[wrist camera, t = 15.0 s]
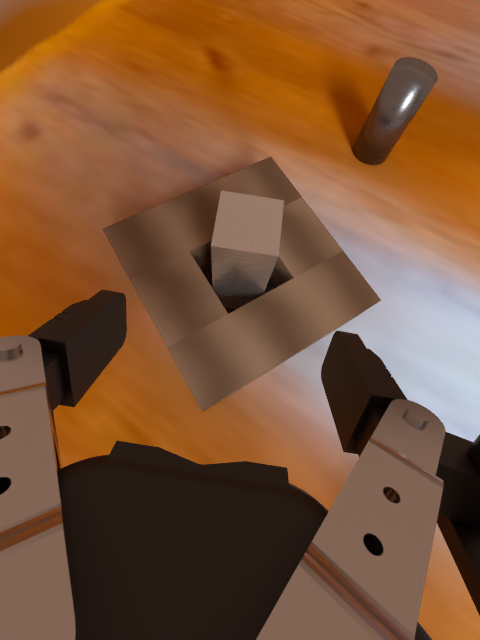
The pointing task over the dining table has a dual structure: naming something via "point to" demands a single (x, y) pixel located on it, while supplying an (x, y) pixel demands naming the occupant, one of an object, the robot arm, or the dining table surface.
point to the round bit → (394, 109)
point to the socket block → (256, 316)
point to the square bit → (244, 246)
